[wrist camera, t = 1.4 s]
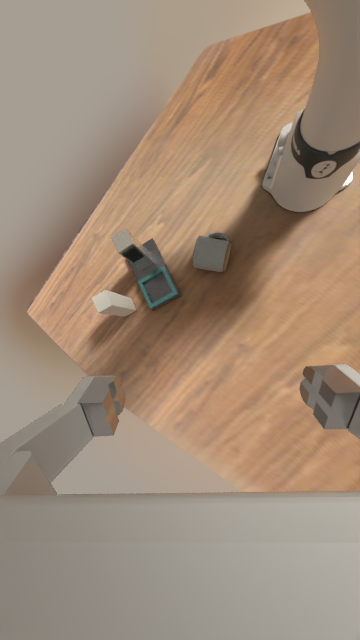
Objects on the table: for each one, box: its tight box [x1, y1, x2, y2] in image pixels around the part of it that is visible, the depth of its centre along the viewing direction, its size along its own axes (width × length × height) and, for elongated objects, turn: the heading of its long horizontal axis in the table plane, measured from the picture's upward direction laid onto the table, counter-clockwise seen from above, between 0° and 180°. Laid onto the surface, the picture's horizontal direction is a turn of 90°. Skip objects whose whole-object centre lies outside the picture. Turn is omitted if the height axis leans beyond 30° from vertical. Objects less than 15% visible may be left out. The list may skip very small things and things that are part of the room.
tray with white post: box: [112, 229, 181, 311], centre depth 47 cm, size 18×9×14 cm, turn 26°
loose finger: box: [92, 290, 136, 317], centre depth 49 cm, size 4×4×12 cm
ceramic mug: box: [193, 232, 231, 272], centre depth 46 cm, size 11×8×8 cm
